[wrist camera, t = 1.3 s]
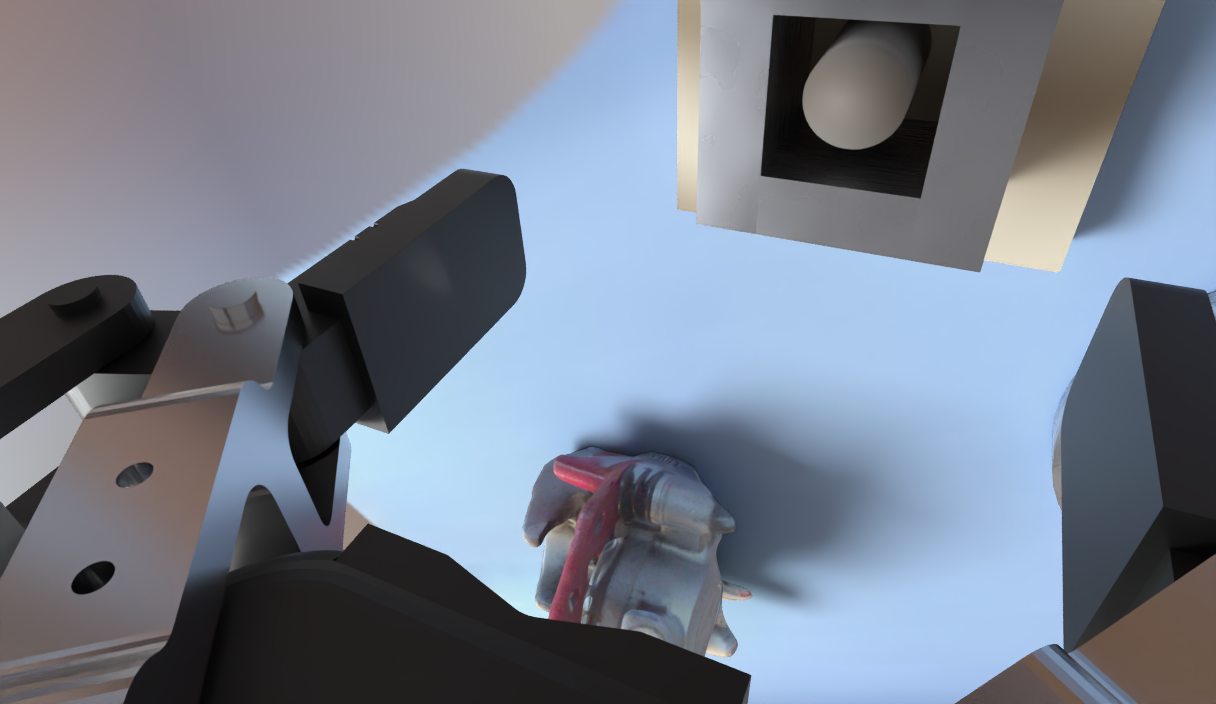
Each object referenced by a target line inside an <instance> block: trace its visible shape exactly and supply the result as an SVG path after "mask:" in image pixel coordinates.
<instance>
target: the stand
mask: <svg viewBox="0 0 1216 704" xmlns="http://www.w3.org/2000/svg"><path fill="white" fill-rule="evenodd" d="M1165 1H1166V0H1064V2H1063V6H1062V9H1061V12H1060V15H1059V18H1058V22H1057V25H1056V28H1055V31H1054V35H1053V38H1052V41H1051V44H1050V48H1049V51H1048V54H1047V57H1046V60H1045V64H1044V67H1043V70H1042V73H1041V77H1040V80H1039V83H1038V86H1037V90H1036V93H1035V96H1034V99H1033V102H1032V106H1031V109H1030V112H1029V115H1028V119H1027V122H1026V125H1025V128H1024V132H1023V135H1022V138H1021V141H1020V145H1019V148H1018V151H1017V154H1016V157H1015V161H1014V164H1013V167H1012V170H1011V174H1010V177H1009V180H1008V183H1007V187H1006V190H1005V193H1004V196H1003V199H1002V203H1001V206H1000V209H999V212H998V216H997V219H996V222H995V225H994V229H993V232H992V235H991V238H990V242H989V245H988V248H987V251H986V254H985V258H984V260H986V261H992V262H998V263H1004V264H1010V265H1016V266H1022V267H1028V268H1034V269H1040V270H1047V271H1053V272H1060V270H1061V267H1062V265H1063V262H1064V260H1065V257H1066V254H1067V252H1068V249H1069V247H1070V244H1071V242H1072V239H1073V237H1074V234H1075V231H1076V229H1077V226H1078V224H1079V221H1080V219H1081V216H1082V213H1083V211H1084V208H1085V206H1086V203H1087V201H1088V198H1089V196H1090V193H1091V190H1092V188H1093V185H1094V183H1095V180H1096V178H1097V175H1098V172H1099V170H1100V167H1101V165H1102V162H1103V160H1104V157H1105V155H1106V152H1107V149H1108V147H1109V144H1110V142H1111V139H1112V137H1113V134H1114V132H1115V129H1116V126H1117V124H1118V121H1119V119H1120V116H1121V114H1122V111H1123V108H1124V106H1125V103H1126V101H1127V98H1128V96H1129V93H1130V91H1131V88H1132V85H1133V83H1134V80H1135V78H1136V75H1137V73H1138V70H1139V67H1140V65H1141V62H1142V60H1143V57H1144V55H1145V52H1146V50H1147V47H1148V44H1149V42H1150V39H1151V37H1152V34H1153V32H1154V29H1155V26H1156V24H1157V21H1158V19H1159V16H1160V14H1161V11H1162V9H1163V6H1164V3H1165ZM960 27H961V26H954V25H937V24H920V23H903V22H887V21H870V20H853V19H836V18H819V17H816V20H815V29H814V37H813V46H812V55H811V64H810V73H809V77H808V79H807V81H806V84H805V87H804V91H803V110H804V114H805V117H806V120H807V122H808V124H809V126H810V127H811V128H812V130H813V131H814V132H815V133H816V134H817V135H818V136H819V137H820V138H821V139H822V140H824V141H825V142H827V143H829V144H831V145H833V146H836V147H839V148H844V149H863V148H868V147H871V146H874V145H876V144H879V143H880V142H882V141H884V140H885V139H887V138H888V137H889V136H891V135H892V134H893V133H894V132H895V131H896V130H897V128H898V127H899V126H900V124H901V123H902V121H903V119H904V118H906V119H916V120H925V121H935V122H939V118H940V113H941V109H942V105H943V100H944V96H945V92H946V87H947V83H948V79H949V74H950V70H951V66H952V61H953V57H954V53H955V49H956V44H957V40H958V36H959V31H960ZM700 28H701V0H678V93H677V209H678V210H684V211H690V212H696V213H697V178H698V128H699V78H700Z"/></svg>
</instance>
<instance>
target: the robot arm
mask: <svg viewBox="0 0 1216 704" xmlns="http://www.w3.org/2000/svg"><path fill="white" fill-rule="evenodd" d="M525 278H526V262H525V254H524V247H523V240H522V233H521V226H520V219H519V212H518V205H517V197H516V192H515V188H514V185H513V183H512V181H511V180H510V179H509V178H508V177H507V176H504V175H499V174H493V173H487V172H480V171H474V170H468V169H459V170H457V171H455V172H453V173H452V174H450V175H449V176H448V177H446V178H445V179H443V180H442V181H441V182H439V183H438V184H436V185H435V186H433V187H432V188H431V189H429V190H428V191H426V192H425V193H424V194H422V195H421V196H419V197H418V198H416V199H415V200H413V201H411V202H408V203H406V204H403V205H401V206H398V207H396V208H395V209H393V210H392V211H391V212H389V213H388V214H386V215H385V216H383V217H382V218H380V219H379V220H378V221H376V222H375V223H374V227H370V226H369V227H368V228H366V229H365V230H363V231H362V232H360V233H359V234H358V235H356V236H355V240H349V241H348V242H346V243H345V244H343V245H342V246H340V247H339V248H338V249H336V250H335V251H333V252H332V253H330V254H329V255H328V256H326V257H325V258H323V259H322V260H320V261H319V262H318V263H316V264H315V265H313V266H312V267H310V268H309V269H308V270H306V271H305V272H303V273H302V274H300V275H299V276H298V277H296V278H295V279H293V280H292V281H290V282H289V283H285V282H284V281H281V280H279V279H275V278H268V277H254V278H253V277H252V278H244V279H239V280H234V281H231V282H227V283H224V284H221V285H218V286H216V287H213V288H211V289H209V290H207V291H205V292H203V293H201V294H199V295H198V296H197V297H195V298H194V299H192V300H191V301H190V302H189V303H187V304H186V305H185V306H184V308H183V309H182V310H181V311H152V310H149V308H148V306H147V304H146V302H145V300H144V299H143V296H142V295H141V293H140V291H139V289H138V287H137V285H136V283H135V282H134V281H133V280H131V279H130V278H127V277H124V276H119V275H102V276H94V277H88V278H83V279H80V280H76V281H73V282H70V283H66V284H64V285H61V286H59V287H56V288H54V289H52V290H50V291H48V292H46V293H44V294H42V295H40V296H38V297H37V298H35V299H33V300H31V301H30V302H28V303H26V304H25V305H23V306H21V307H19V308H18V309H16V310H14V311H12V312H11V313H9V314H7V315H6V316H4V317H2V318H0V439H1V438H2V437H4V436H5V435H7V434H8V433H10V432H11V431H13V430H14V429H15V428H17V427H18V426H20V425H21V424H23V423H24V422H25V421H27V420H28V419H30V418H31V417H33V416H34V415H35V414H37V413H38V412H40V411H41V410H43V409H44V408H46V407H47V406H48V405H50V404H51V403H53V402H54V401H55V400H57V399H58V398H60V397H61V396H63V395H64V394H65V395H66V397H67V398H68V400H69V401H70V403H71V404H72V406H73V407H74V409H75V410H76V412H77V413H78V414H79V416H80V417H81V419H82V420H83V421H82V423H81V425H80V427H79V429H78V431H77V433H76V434H75V436H74V439H73V440H72V442H71V444H70V446H69V448H68V450H67V452H66V454H65V456H64V457H63V459H62V461H61V463H60V465H59V466H58V467H57V468H56V469H54V470H53V471H52V472H50V473H49V474H48V475H47V476H45V477H44V478H43V479H41V480H40V481H39V482H38V483H36V484H35V485H34V486H32V487H31V488H30V489H28V490H27V491H26V492H25V493H23V494H22V495H21V496H20V497H18V498H17V499H15V500H14V501H13V502H12V503H10V504H9V505H8V506H6V507H5V506H4V505H3V504H2V503H1V502H0V704H747V703H748V696H749V688H750V681H751V675H750V674H747V673H745V672H742V671H739V670H737V669H734V668H732V667H729V666H727V665H724V664H722V663H719V662H717V661H714V660H712V659H709V658H707V657H704V656H702V655H699V654H696V653H694V652H691V651H689V650H686V649H684V648H681V647H679V646H676V645H674V644H671V643H669V642H666V641H664V640H661V639H659V638H656V637H654V636H651V635H648V634H646V633H643V632H641V631H633V630H626V629H619V628H611V627H604V626H596V625H589V624H581V623H574V622H567V621H559V620H552V619H544V618H537V617H532V616H528V615H525V614H523V613H521V612H519V611H518V610H516V609H515V608H514V607H512V606H511V605H510V604H508V603H507V602H506V601H505V600H503V599H502V598H501V597H500V596H498V595H497V594H496V593H495V592H493V591H492V590H491V589H490V588H488V587H487V586H486V585H485V584H483V583H482V582H481V581H480V580H478V579H477V578H476V577H475V576H473V575H472V574H471V573H469V572H468V571H467V570H466V569H464V568H463V567H462V566H461V565H459V564H458V563H457V562H456V561H454V560H453V559H452V558H451V557H449V556H448V555H446V554H444V553H441V552H439V551H436V550H433V549H431V548H428V547H426V546H423V545H421V544H418V543H416V542H413V541H411V540H408V539H406V538H403V537H401V536H398V535H396V534H393V533H391V532H388V531H385V530H383V529H380V528H378V527H375V526H373V525H370V524H367V525H366V526H365V527H364V529H363V530H362V531H361V532H360V533H359V534H358V535H357V536H356V538H355V539H354V540H353V541H352V542H351V543H350V545H349V546H348V547H347V548H346V549H345V550H343V535H344V523H345V512H346V502H347V491H348V480H349V469H350V458H351V444H350V441H349V438H348V436H347V433H346V431H347V430H348V429H349V428H350V427H351V426H352V425H353V424H354V423H358V424H361V425H364V426H367V427H370V428H373V429H376V430H379V431H382V432H385V433H388V434H389V433H390V432H391V431H392V430H393V429H394V428H395V427H396V426H397V425H398V424H399V423H400V422H401V421H402V420H403V419H404V418H405V417H406V415H407V414H408V413H409V412H410V411H411V410H412V409H413V408H414V407H415V406H416V405H417V404H418V403H419V402H420V401H421V400H422V399H423V398H424V397H425V396H426V395H427V394H428V393H429V392H430V391H431V390H432V389H433V388H434V387H435V386H436V385H437V383H438V382H439V381H440V380H441V379H442V378H443V377H444V376H445V375H446V374H447V373H448V372H449V371H450V370H451V369H452V368H453V367H454V366H455V365H456V364H457V363H458V362H459V361H460V360H461V359H462V358H463V357H464V356H465V355H466V354H467V353H468V351H469V350H470V349H471V348H472V347H473V346H474V345H475V344H476V343H477V342H478V341H479V340H480V339H481V338H482V337H483V336H484V335H485V334H486V333H487V332H488V331H489V330H490V329H491V328H492V327H493V326H494V325H495V324H496V323H497V322H498V321H499V319H500V318H501V317H502V316H503V315H504V314H505V313H506V312H507V311H508V310H509V309H510V308H511V307H512V306H513V305H514V304H515V303H516V301H517V300H518V298H519V297H520V295H521V292H522V290H523V287H524V283H525ZM1061 485H1062V559H1063V634H1064V650H1063V649H1062V648H1061V647H1060V646H1059V645H1057V644H1051V645H1047V646H1045V647H1042V648H1040V649H1038V650H1036V651H1034V652H1032V653H1031V654H1029V655H1027V656H1026V657H1024V658H1023V659H1021V660H1019V661H1018V662H1016V663H1015V664H1013V665H1012V666H1010V667H1009V668H1007V669H1006V670H1004V671H1003V672H1001V673H1000V674H998V675H997V676H995V677H994V678H992V679H991V680H989V681H988V682H986V683H985V684H983V685H982V686H980V687H979V688H978V689H976V690H975V691H973V692H972V693H970V694H969V695H967V696H966V697H964V698H963V699H961V700H960V701H958V702H957V703H955V704H1216V320H1215V316H1214V313H1213V309H1212V306H1211V302H1210V299H1209V296H1208V293H1207V292H1206V291H1204V290H1201V289H1194V288H1188V287H1182V286H1176V285H1170V284H1164V283H1157V282H1151V281H1145V280H1139V279H1133V278H1127V277H1126V278H1123V279H1122V280H1121V281H1120V282H1119V284H1118V285H1117V287H1116V288H1115V290H1114V292H1113V294H1112V296H1111V298H1110V300H1109V302H1108V304H1107V307H1106V309H1105V311H1104V313H1103V316H1102V318H1101V320H1100V322H1099V325H1098V327H1097V329H1096V331H1095V333H1094V336H1093V338H1092V340H1091V342H1090V345H1089V347H1088V349H1087V351H1086V354H1085V356H1084V358H1083V360H1082V363H1081V365H1080V367H1079V369H1078V371H1077V374H1076V376H1075V378H1074V380H1073V383H1072V385H1071V388H1070V391H1069V394H1068V397H1067V400H1066V404H1065V408H1064V413H1063V418H1062V425H1061Z"/></svg>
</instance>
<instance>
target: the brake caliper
mask: <svg viewBox="0 0 1216 704" xmlns="http://www.w3.org/2000/svg"><path fill="white" fill-rule="evenodd" d="M735 530H736V522H735V521H734V519H733V518H732V516H731V515H730V514H729V513H728V512H727V511H726V510H725V509H724V508H723V507H722V506H721V505H720V504H719V503H718V502H717V501H716V500H715V499H714V498H713V496H712V494H711V492H710V491H709V490H708V488H707V487H706V486H705V485H704V484H703V483H702V482H701V480H700V478H699V475H698V473H697V472H696V470H695V468H694V467H693V466H691V465H690V464H688V463H686V462H684V461H682V460H680V459H678V458H675V457H672V456H668V455H663V454H659V453H655V452H648V453H644V454H641V455H638V456H634V457H631V456H628V455H624V454H619V453H613V452H608V451H604V450H602V449H599V448H597V447H588V448H586V449H583V450H579V451H575V452H573V453H571V454H567V455H560V456H558V457H556V458H554V459H553V460H551V461H550V462H548V463H547V464H546V465H545V466H544V467H543V469H542V471H541V473H540V475H539V477H538V479H537V481H536V482H535V484H534V486H533V491H532V498H531V501H530V504H529V506H528V509H527V514H526V516H525V520H524V524H523V527H522V535H523V538H524V540H525V541H526V542H527V543H528V544H529V545H530V546H532V547H538V546H540V545H541V543H542V542H543V540H544V538H545V543H544V552H543V559H542V567H541V574H540V579H539V582H538V585H537V591H536V595H535V600H536V605H537V607H539V608H540V609H542V610H544V611H547V612H549V618H548V619H552V620H559V621H567V622H574V623H581V621H582V624H589V625H596V626H604V627H611V628H619V629H626V630H633V631H641V632H643V633H646V634H648V635H651V636H654V637H656V638H659V639H661V640H664V641H666V642H669V643H671V644H674V645H676V646H679V647H681V648H684V649H686V650H689V651H691V652H694V653H696V654H699V655H702V656H705V653H708V654H712V655H715V656H720V657H730V656H732V655H733V654H734V653H735V651H736V649H737V646H738V643H737V640H736V638H735V637H734V635H733V634H732V632H731V631H730V629H729V627H728V625H727V623H726V621H725V618H724V615H723V611H722V598H723V599H728V600H748V599H750V598H751V597H752V595H751V593H750V592H749V591H748V590H747V589H745V588H743V587H740V586H737V585H734V584H731V583H728V582H725V581H722V579H721V575H720V571H719V567H718V562H717V557H716V551H717V547H718V544H719V542H720V540H721V538H722V534H726V533H732V532H734V531H735Z"/></svg>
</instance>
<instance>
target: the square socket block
mask: <svg viewBox="0 0 1216 704" xmlns="http://www.w3.org/2000/svg"><path fill="white" fill-rule="evenodd" d="M1063 2H1064V0H701V28H700V78H699V128H698V178H697V224H701V225H706V226H712V227H718V228H724V229H730V230H735V231H741V232H747V233H753V234H759V235H765V236H770V237H776V238H782V239H788V240H794V241H800V242H805V243H811V244H817V245H823V246H829V247H835V248H840V249H846V250H852V251H858V252H864V253H870V254H875V255H881V256H887V257H893V258H899V259H905V260H910V261H916V262H922V263H928V264H934V265H940V266H945V267H951V268H957V269H963V270H969V271H975V272H980V271H981V267H982V264H983V261H984V258H985V254H986V251H987V248H988V245H989V242H990V238H991V235H992V232H993V229H994V225H995V222H996V219H997V216H998V212H999V209H1000V206H1001V203H1002V199H1003V196H1004V193H1005V190H1006V187H1007V183H1008V180H1009V177H1010V174H1011V170H1012V167H1013V164H1014V161H1015V157H1016V154H1017V151H1018V148H1019V145H1020V141H1021V138H1022V135H1023V132H1024V128H1025V125H1026V122H1027V119H1028V115H1029V112H1030V109H1031V106H1032V102H1033V99H1034V96H1035V93H1036V90H1037V86H1038V83H1039V80H1040V77H1041V73H1042V70H1043V67H1044V64H1045V60H1046V57H1047V54H1048V51H1049V48H1050V44H1051V41H1052V38H1053V35H1054V31H1055V28H1056V25H1057V22H1058V18H1059V15H1060V12H1061V9H1062V6H1063ZM816 17H819V18H836V19H853V20H870V21H887V22H903V23H920V24H937V25H954V26H961V27H960V31H959V36H958V40H957V44H956V49H955V53H954V57H953V61H952V66H951V70H950V74H949V79H948V83H947V87H946V92H945V96H944V100H943V105H942V109H941V113H940V118H939V122H935V121H925V120H916V119H906V118H904V119H903V121H902V123H901V124H900V126H899V127H898V128H897V130H896V131H895V132H894V133H893V134H892V135H891V136H889V137H888V138H887V139H885V140H884V141H882V142H880V143H879V144H876V145H874V146H871V147H868V148H863V149H844V148H839V147H836V146H833V145H831V144H829V143H827V142H825V141H824V140H822V139H821V138H820V137H819V136H818V135H817V134H816V133H815V132H814V131H813V130H812V128H811V127H810V126H809V124H808V122H807V120H806V117H805V114H804V110H803V91H804V87H805V84H806V81H807V79H808V77H809V73H810V64H811V55H812V46H813V37H814V29H815V20H816Z"/></svg>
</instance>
